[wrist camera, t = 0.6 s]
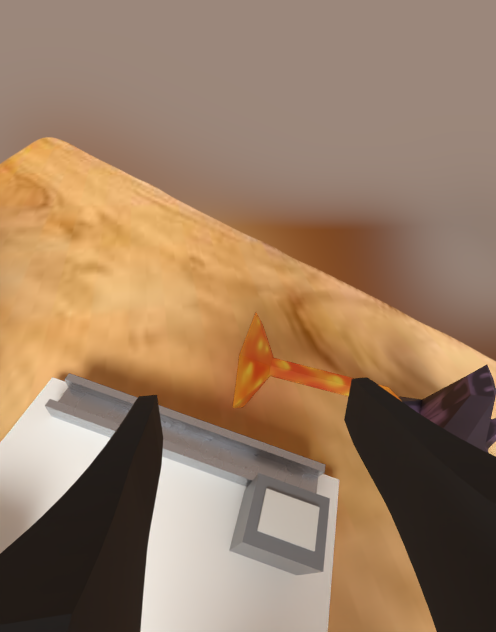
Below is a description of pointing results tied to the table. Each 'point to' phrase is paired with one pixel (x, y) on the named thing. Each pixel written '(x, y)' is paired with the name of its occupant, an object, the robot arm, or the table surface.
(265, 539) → the mounted module
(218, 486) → the panel
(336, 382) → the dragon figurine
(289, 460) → the rail
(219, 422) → the table surface
